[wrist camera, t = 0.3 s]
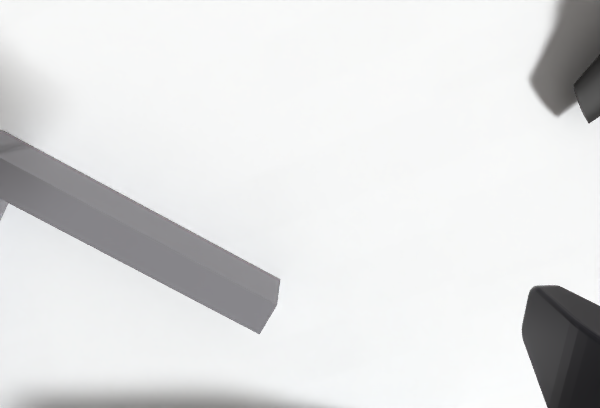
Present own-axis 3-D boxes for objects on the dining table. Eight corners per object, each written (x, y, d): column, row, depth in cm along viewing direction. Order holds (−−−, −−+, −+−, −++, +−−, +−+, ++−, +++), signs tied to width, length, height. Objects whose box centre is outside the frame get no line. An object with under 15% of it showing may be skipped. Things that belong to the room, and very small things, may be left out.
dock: (131, 532, 28) (110, 584, 25) (-123, 412, 26) (-177, 453, 23) (280, 279, 25) (276, 304, 22) (2, 130, 23) (-41, 136, 20)
